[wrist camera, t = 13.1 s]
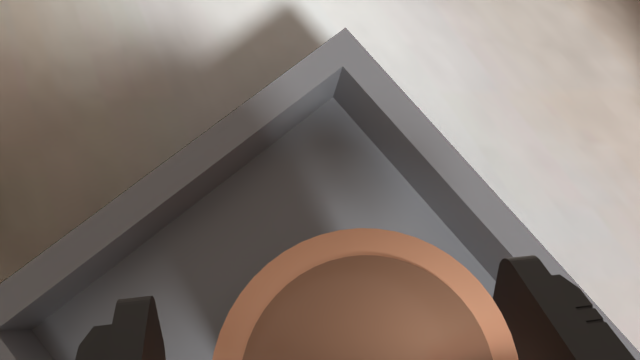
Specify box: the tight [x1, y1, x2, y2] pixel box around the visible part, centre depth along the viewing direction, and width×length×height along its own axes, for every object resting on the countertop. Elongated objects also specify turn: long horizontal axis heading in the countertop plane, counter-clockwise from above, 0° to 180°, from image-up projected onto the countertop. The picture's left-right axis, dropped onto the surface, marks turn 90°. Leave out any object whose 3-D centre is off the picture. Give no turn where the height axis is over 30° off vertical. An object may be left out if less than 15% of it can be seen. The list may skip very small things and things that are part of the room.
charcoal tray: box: [0, 28, 640, 360], centre depth 19 cm, size 15×15×4 cm
